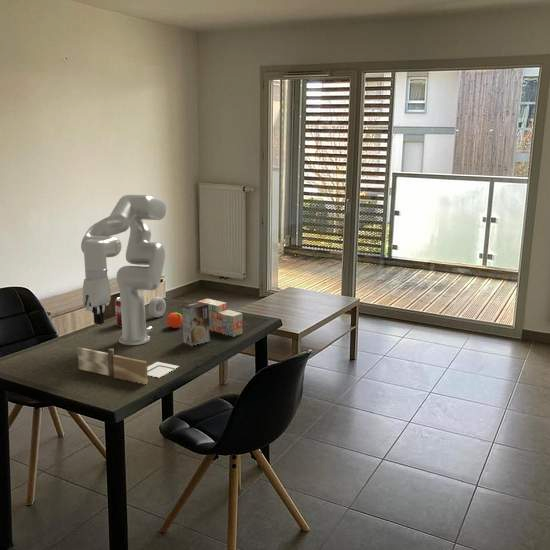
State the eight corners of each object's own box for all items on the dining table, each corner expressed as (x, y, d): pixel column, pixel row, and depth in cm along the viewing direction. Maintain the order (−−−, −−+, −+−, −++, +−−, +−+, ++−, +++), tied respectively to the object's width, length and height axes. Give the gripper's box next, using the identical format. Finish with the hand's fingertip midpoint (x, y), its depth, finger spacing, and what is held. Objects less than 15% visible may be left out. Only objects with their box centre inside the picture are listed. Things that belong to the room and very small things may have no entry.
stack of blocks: (243, 333, 269) (242, 306, 267) (232, 337, 265) (232, 309, 262) (208, 324, 283) (207, 297, 280) (198, 327, 278) (197, 300, 275)
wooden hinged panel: (112, 374, 224) (110, 348, 222) (148, 383, 217) (147, 355, 215) (108, 376, 223) (106, 350, 220) (145, 385, 215) (143, 357, 213)
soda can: (126, 321, 287) (124, 296, 284) (136, 324, 282) (135, 298, 279) (113, 325, 281) (111, 299, 278) (123, 328, 277) (121, 302, 274)
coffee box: (201, 338, 264) (200, 301, 260) (210, 342, 259) (209, 304, 255) (182, 342, 258) (181, 305, 254) (191, 346, 253) (189, 308, 250)
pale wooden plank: (110, 374, 224) (109, 353, 222) (108, 375, 223) (107, 354, 221) (81, 367, 230) (79, 347, 229) (78, 369, 229) (77, 348, 228)
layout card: (157, 362, 236) (157, 361, 236) (179, 367, 232) (179, 365, 231) (136, 373, 226) (136, 372, 226) (159, 378, 221) (159, 377, 221)
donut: (162, 314, 298) (161, 293, 295) (167, 315, 296) (167, 294, 294) (147, 319, 290) (146, 298, 287) (152, 320, 288) (151, 299, 286)
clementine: (187, 326, 280) (187, 310, 278) (181, 330, 273) (180, 315, 272) (170, 324, 282) (170, 309, 280) (164, 329, 275) (163, 313, 274)
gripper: (102, 269, 233) (105, 317, 237) (73, 276, 220) (76, 327, 224) (118, 271, 229) (120, 319, 233) (89, 279, 216) (92, 330, 220)
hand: (99, 323), depth 228 cm, fingers closed
